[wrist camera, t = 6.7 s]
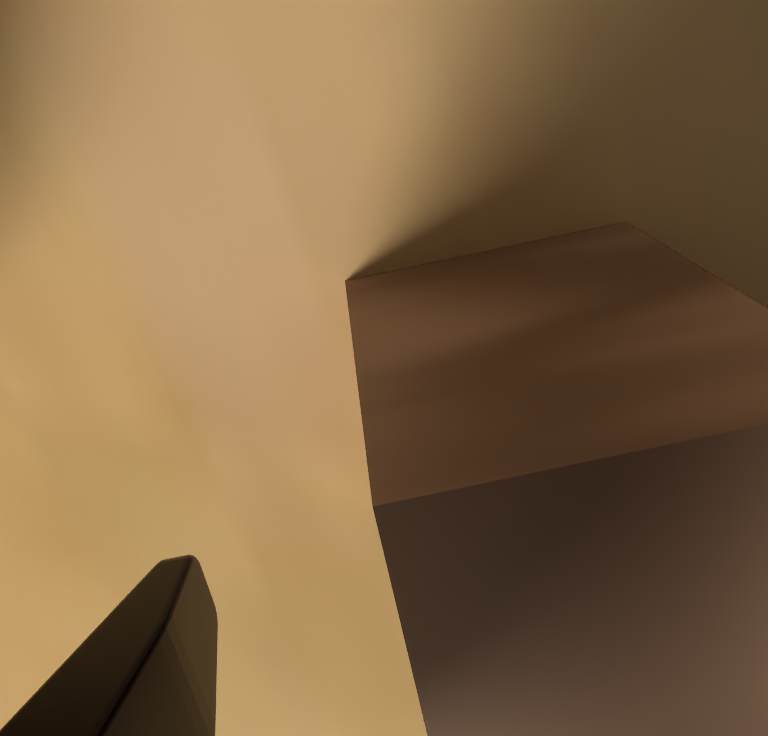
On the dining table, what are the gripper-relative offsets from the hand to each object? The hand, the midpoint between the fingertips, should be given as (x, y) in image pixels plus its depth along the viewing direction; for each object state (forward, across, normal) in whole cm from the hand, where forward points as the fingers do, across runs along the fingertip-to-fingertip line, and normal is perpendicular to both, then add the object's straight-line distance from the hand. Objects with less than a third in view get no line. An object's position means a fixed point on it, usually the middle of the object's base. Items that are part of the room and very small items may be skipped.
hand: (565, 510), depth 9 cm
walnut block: (+4, 0, 0) cm, 4 cm away
